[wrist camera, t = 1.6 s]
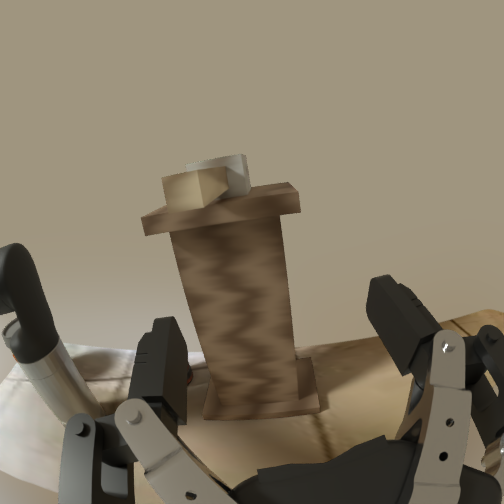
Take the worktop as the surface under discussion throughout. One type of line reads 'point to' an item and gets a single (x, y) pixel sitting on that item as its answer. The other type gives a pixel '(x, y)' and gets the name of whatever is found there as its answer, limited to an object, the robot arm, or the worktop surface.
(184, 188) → the grey and beige bar
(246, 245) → the stand
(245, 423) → the worktop surface
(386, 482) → the robot arm
